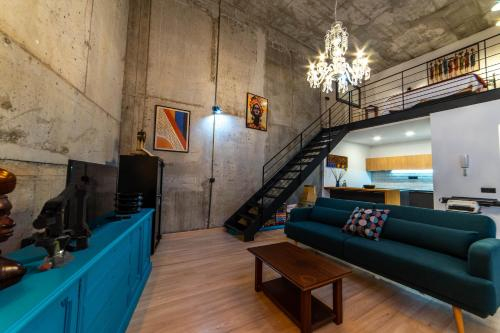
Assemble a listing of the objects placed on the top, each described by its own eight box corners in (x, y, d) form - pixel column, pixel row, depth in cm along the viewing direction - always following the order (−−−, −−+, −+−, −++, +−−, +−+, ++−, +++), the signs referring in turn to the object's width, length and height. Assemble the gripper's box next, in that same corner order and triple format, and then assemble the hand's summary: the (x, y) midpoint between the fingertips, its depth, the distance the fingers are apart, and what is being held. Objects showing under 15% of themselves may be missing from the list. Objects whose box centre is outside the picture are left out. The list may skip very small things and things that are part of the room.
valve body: (56, 259, 109) (56, 251, 109) (77, 257, 111) (76, 248, 111) (33, 272, 95) (32, 262, 95) (57, 269, 97) (57, 259, 97)
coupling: (55, 259, 105) (55, 249, 105) (66, 258, 106) (66, 248, 106) (47, 263, 100) (46, 253, 100) (59, 262, 101) (58, 252, 101)
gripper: (52, 221, 111) (53, 249, 111) (19, 231, 93) (21, 264, 93) (74, 219, 113) (75, 246, 113) (47, 228, 95) (49, 261, 95)
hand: (56, 254), depth 103 cm, fingers open, 6 cm apart
